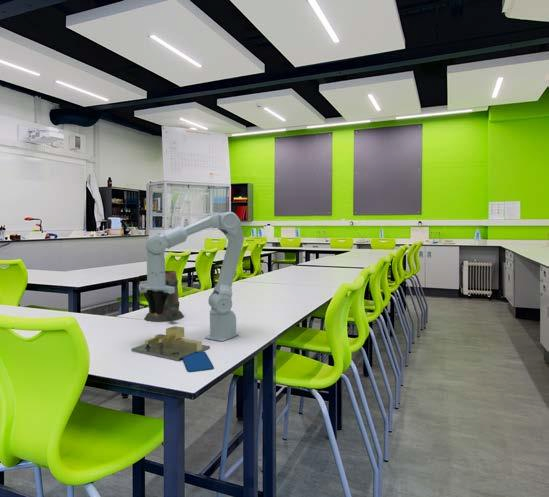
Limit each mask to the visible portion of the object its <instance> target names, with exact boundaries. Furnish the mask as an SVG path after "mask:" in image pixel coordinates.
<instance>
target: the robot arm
mask: <svg viewBox="0 0 549 497" xmlns="http://www.w3.org/2000/svg"><path fill="white" fill-rule="evenodd" d="M208 228H212V229H214V228H215V229H218V230H219V231H221V232H222V233H223V234H224V236H225V238H226V239H227V240H228V241H227V246H226V249H225V253H224V256H223V260H222V263H221V268H220V272H219V275H218V280H217V283H216V285H215V286H214V287H213V291H212V292H211V294H210V295H209V297H208V305H209V307H211V308H210V310H209V335H207V336H205V337H204V339H207V340H213V341H218V342H224V341H226V340H230V339H232V338H235V337H237V336H239V333H237V316H236V314H235V312H234V311H232V310H231V309H232V307H233V301H232V297H233V289H232V287H233V286H232V285H233V284H234V283H233V282H234V278H235V275H236V271H237V268H238V264H239V259H240V256H241V252H242V249H243V244H244V240H245V237H244V233H243V229H242V221H241V218H239V216H238V215H237V214H236V213H235V212H233V211H226V212H219V213H217V214H216V213H215V214H213V215H209V216H206V217H203V218H202V219H199V220H197V221H195V222H193V223H191V224H188V225H186V226H181V225H172V226H170V228H169V229H167V230H165V231H163V232H161V231H159V232H157V235H152V236H150V237H149V238H148V239H147V240H145V244H144V246H145V249H146V250H147V252H146V257H147V258H146V283H142V284H138V291H144V293H143V297H144V298H145V299H146V302H147V303H148V307H150V310H151V314H154V313H156V314H162V313H163V309H164V305H165V302H166V300H167V298H168V296H169V294H172V293H175V287H171V286H167V285H165V271H166V259H165V251H166V249H171V248H173V247H176V246H178V245H180V244H183V243H184V242H186V241H187V239H188V237H189V236H191V235H193V234H196V233H199V232H201V231H203V230H205V229H206V230H207V229H208ZM145 291H146V292H145Z"/></svg>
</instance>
